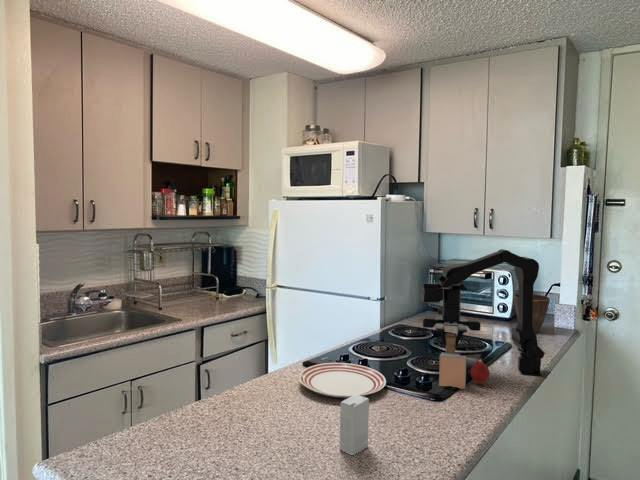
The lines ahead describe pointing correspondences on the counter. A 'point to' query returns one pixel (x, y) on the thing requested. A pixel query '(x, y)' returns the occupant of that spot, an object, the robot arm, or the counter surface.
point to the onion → (479, 372)
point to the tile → (452, 371)
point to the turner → (450, 345)
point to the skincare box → (354, 424)
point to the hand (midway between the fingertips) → (450, 347)
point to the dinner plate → (342, 379)
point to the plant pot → (536, 309)
